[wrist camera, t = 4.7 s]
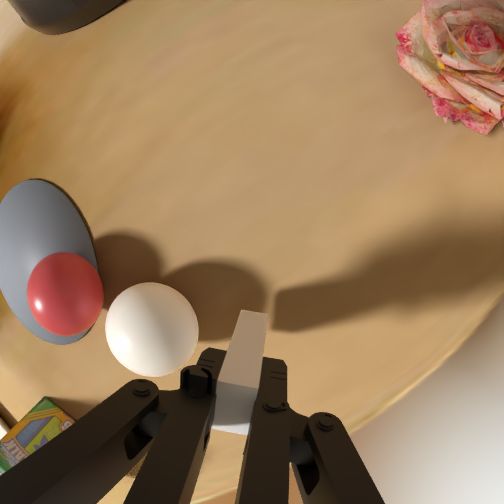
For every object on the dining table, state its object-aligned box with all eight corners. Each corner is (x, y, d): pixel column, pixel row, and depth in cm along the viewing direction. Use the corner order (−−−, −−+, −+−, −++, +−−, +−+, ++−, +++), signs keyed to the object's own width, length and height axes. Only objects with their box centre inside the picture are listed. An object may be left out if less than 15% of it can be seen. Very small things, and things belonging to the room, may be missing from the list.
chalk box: (100, 470, 25) (53, 549, 11) (43, 429, 25) (-15, 496, 11) (112, 442, 23) (50, 542, 9) (44, 392, 23) (-34, 471, 9)
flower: (498, 27, 10) (492, -39, 4) (554, 138, 10) (588, 104, 4) (399, 56, 17) (359, 0, 11) (444, 165, 16) (429, 141, 11)
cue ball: (214, 299, 14) (177, 262, 19) (103, 322, 11) (93, 275, 16) (216, 380, 16) (181, 333, 20) (126, 406, 13) (108, 349, 18)
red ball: (79, 239, 19) (14, 248, 14) (119, 258, 17) (40, 273, 12) (81, 306, 20) (23, 323, 16) (120, 336, 18) (53, 362, 13)
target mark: (-7, 177, 18) (-8, 177, 18) (103, 184, 17) (101, 184, 17) (2, 317, 21) (1, 318, 21) (105, 364, 20) (104, 365, 20)
